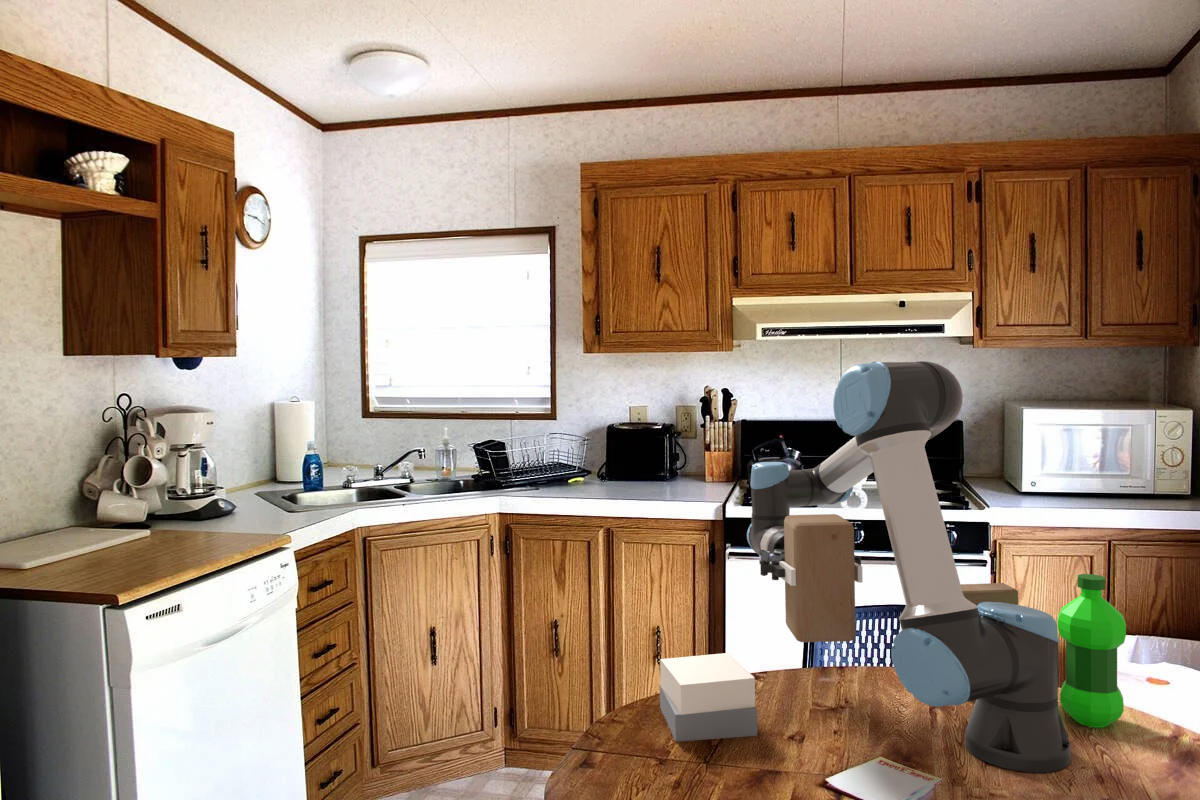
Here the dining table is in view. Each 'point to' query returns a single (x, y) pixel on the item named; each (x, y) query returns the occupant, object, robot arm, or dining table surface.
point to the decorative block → (990, 593)
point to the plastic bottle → (1091, 655)
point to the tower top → (707, 683)
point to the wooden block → (820, 578)
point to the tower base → (708, 722)
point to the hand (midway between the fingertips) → (827, 576)
